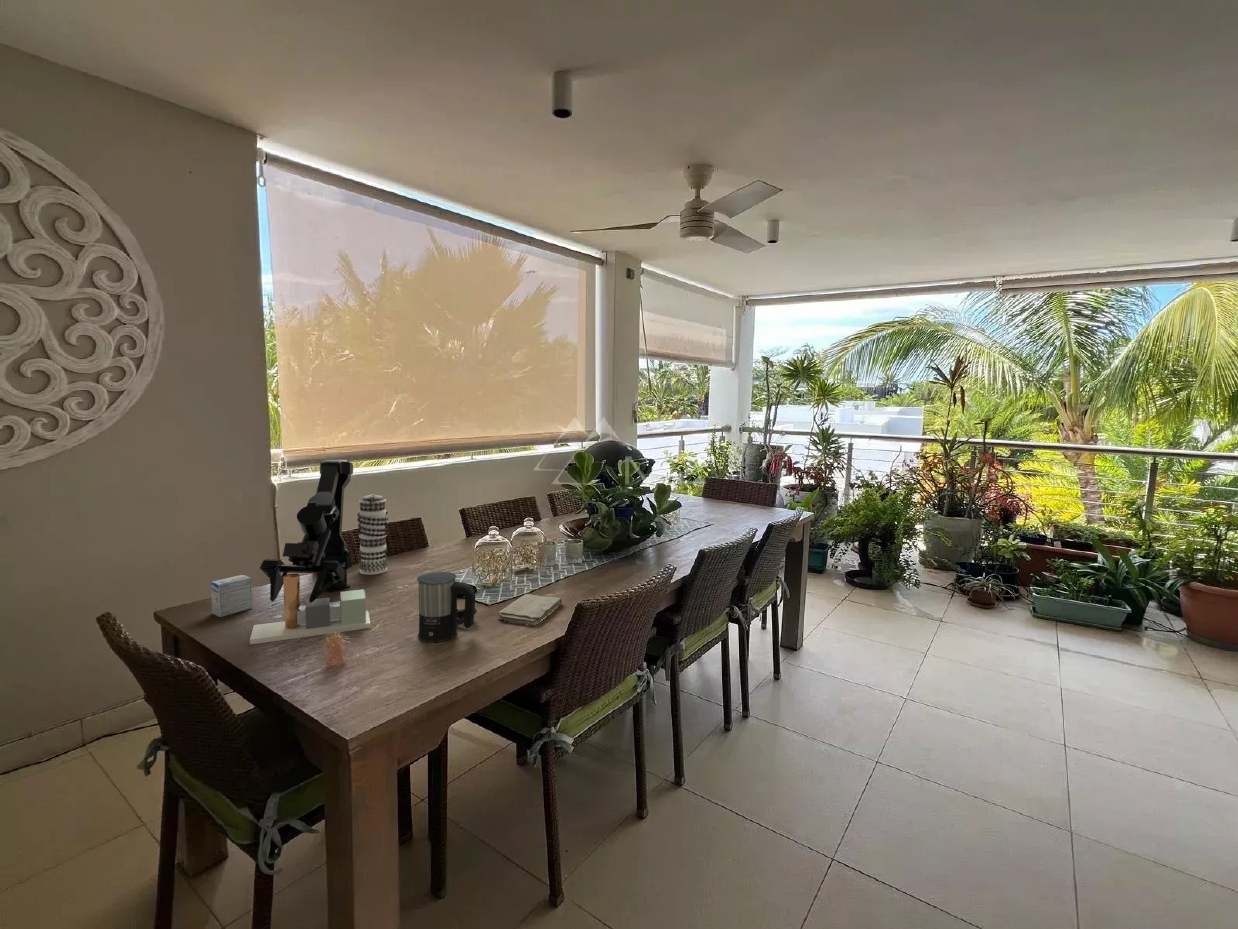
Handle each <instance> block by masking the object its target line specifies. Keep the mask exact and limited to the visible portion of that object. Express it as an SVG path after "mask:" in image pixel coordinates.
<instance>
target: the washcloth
mask: <svg viewBox="0 0 1238 929" xmlns="http://www.w3.org/2000/svg"><path fill="white" fill-rule="evenodd" d="M562 603H563V599H562V598H560V597H554V596H541V595H536V594H530V593H525V594H524V595H522V596H520V597H519V598H517V599H516V600H514V601H512V602H511V603H510V604H508V605H507V606H505V607H504V608H502V609H501V610H499V611H498V613H497V616H498V618H497V620H498V619H502V620H504V621H503V622H505V621H509V622H508V623H510V622H513V623H512V624H517V623H522V624H528V625H527V626H529V625H533V626H532V627H534V626H536V624H537V623H539V622H540V621H541V619H543V618H544V617H545V616H547V615H548V614H549V613H551V612H552V610H554V609H555V608H556V607H557V606H560V605H561V606H562ZM561 606H560V607H561ZM502 620H501V621H502ZM522 624H521V625H522ZM539 624H540V623H539ZM537 625H538V624H537Z"/></svg>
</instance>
